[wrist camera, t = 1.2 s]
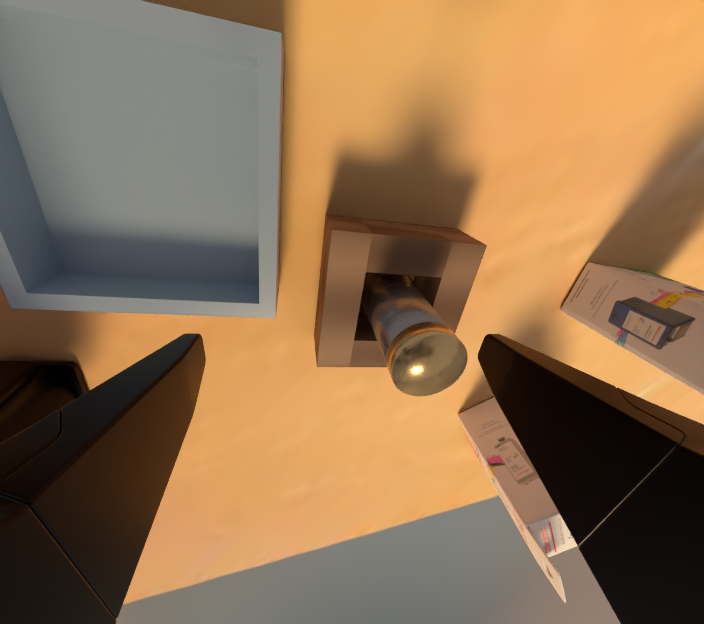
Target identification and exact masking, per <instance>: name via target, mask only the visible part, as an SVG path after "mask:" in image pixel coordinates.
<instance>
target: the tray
mask: <svg viewBox="0 0 704 624" xmlns="http://www.w3.org/2000/svg"><path fill="white" fill-rule="evenodd" d="M284 56H285V55H284V48H283V40H282V33H280V32H276V31H272V30H267V29H263V28H259V27H254V26H250V25H246V24H241V23H237V22H233V21H228V20H224V19H220V18H215V17H211V16H207V15H202V14H198V13H194V12H189V11H185V10H181V9H177V8H172V7H168V6H164V5H159V4H155V3H151V2H146V1H142V0H0V285H1V287H2V289H3V292H4V294H5V296H6V298H7V300H8V302H9V305H10V307H11V309H35V310H63V311H90V312H117V313H145V314H172V315H199V316H226V317H254V318H276V310H277V301H278V292H279V255H280V215H281V175H282V135H283V96H284Z"/></svg>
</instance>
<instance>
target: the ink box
mask: <svg viewBox="0 0 704 624" xmlns="http://www.w3.org/2000/svg"><path fill="white" fill-rule="evenodd" d="M561 311H562V312H564V313H566V314H567V315H569V316H570V317H572V318H574V319H576V320H577V321H579V322H581V323H582V324H584V325H586V326H587V327H589V328H591V329H592V330H594V331H596V332H598V333H599V334H601V335H602V336H604V337H606V338H608V339H609V340H611V341H613V342H614V343H616V344H618V345H619V346H621V347H623V348H624V349H626V350H628V351H629V352H631V353H633V354H634V355H636V356H638V357H640V358H641V359H643V360H645V361H646V362H648V363H650V364H651V365H653V366H655V367H656V368H658V369H660V370H661V371H663V372H665V373H667V374H668V375H670V376H672V377H673V378H675V379H677V380H679V381H680V382H682V383H684V384H686V385H687V386H689V387H691V388H693V389H694V390H696V391H698V392H699V393H701V394H703V395H704V291H703V290H700V289H697V288H695V287H692V286H689V285H686V284H683V283H680V282H677V281H674V280H671V279H668V278H666V277H663V276H660V275H657V274H654V273H648V272H642V271H636V270H629V269H623V268H617V267H611V266H605V265H599V264H594V263H590V262H589V263H588V264H587V265H586V267H585V268H584V270H583V272H582V273H581V275H580V277H579V278H578V280H577V282H576V284H575V286H574V287H573V289H572V291H571V292H570V294H569V296H568V297H567V299H566V301H565V302H564V304H563V306H562V308H561Z"/></svg>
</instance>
